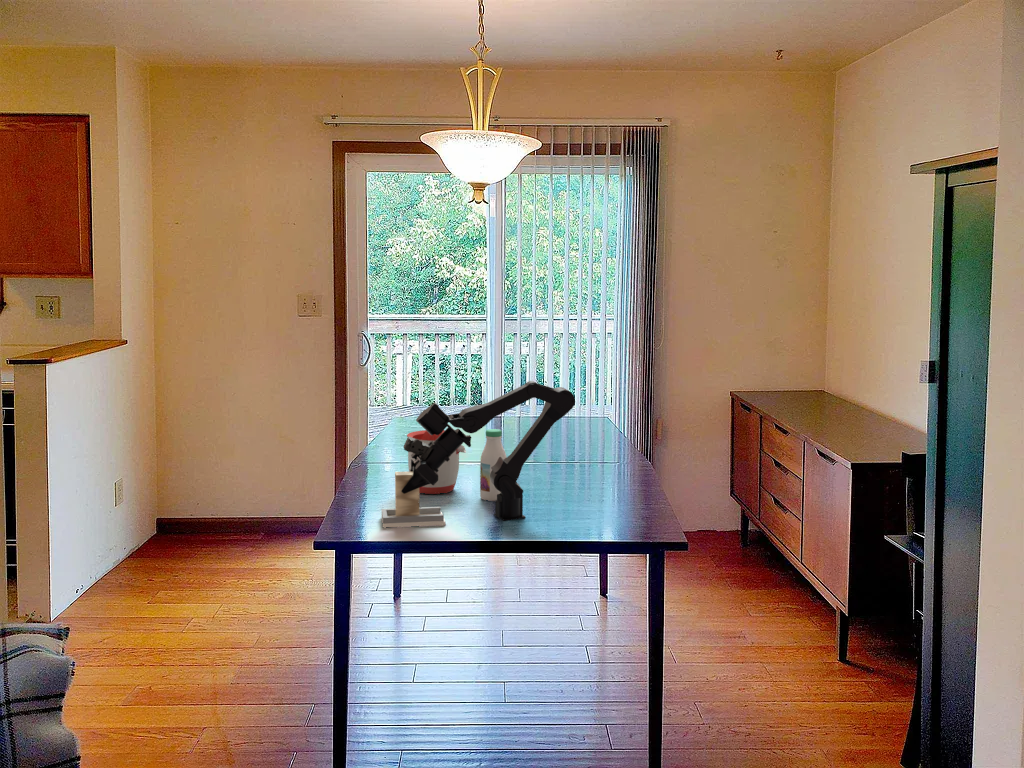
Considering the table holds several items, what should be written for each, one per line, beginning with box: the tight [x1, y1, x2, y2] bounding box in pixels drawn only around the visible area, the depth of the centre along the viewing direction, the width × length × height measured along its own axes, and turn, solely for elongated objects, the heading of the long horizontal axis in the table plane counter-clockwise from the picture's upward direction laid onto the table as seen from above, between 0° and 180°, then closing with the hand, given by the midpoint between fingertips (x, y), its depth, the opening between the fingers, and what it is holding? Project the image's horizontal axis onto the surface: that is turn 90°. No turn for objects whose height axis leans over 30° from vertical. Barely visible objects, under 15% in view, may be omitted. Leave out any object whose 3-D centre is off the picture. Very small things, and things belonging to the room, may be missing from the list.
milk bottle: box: [479, 428, 508, 502], centre depth 272 cm, size 8×8×20 cm
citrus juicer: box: [406, 429, 467, 495], centre depth 281 cm, size 16×17×20 cm
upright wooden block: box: [394, 470, 420, 516], centre depth 248 cm, size 6×4×12 cm, turn 100°
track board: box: [381, 506, 446, 529], centre depth 249 cm, size 16×10×2 cm, turn 100°
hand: (402, 490), depth 247 cm, fingers open, 5 cm apart
